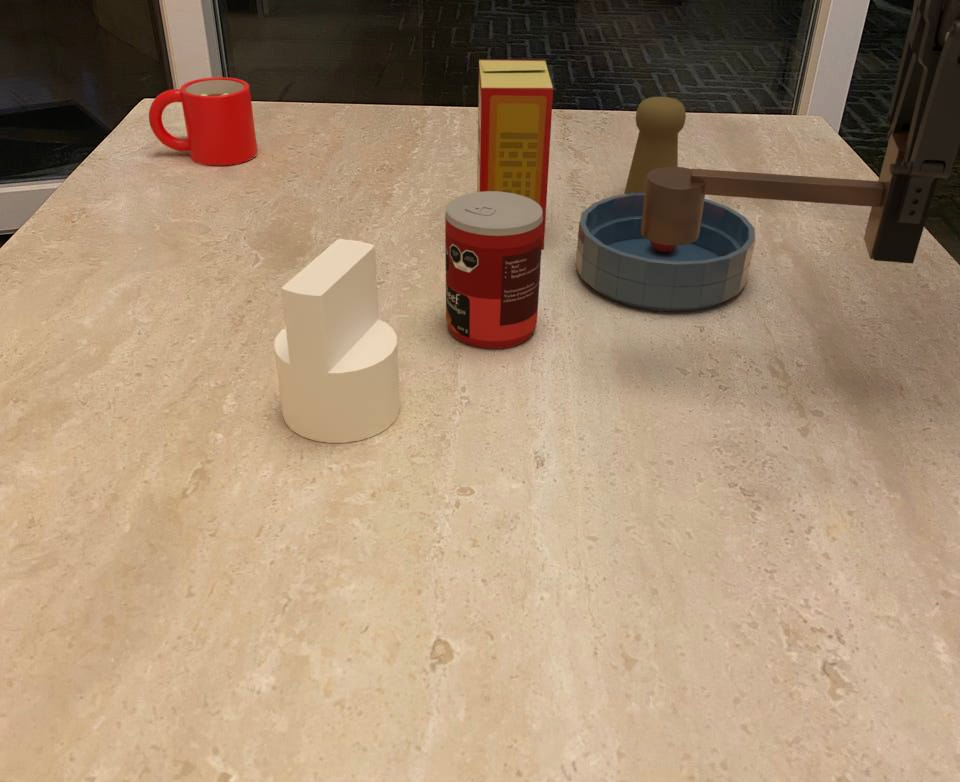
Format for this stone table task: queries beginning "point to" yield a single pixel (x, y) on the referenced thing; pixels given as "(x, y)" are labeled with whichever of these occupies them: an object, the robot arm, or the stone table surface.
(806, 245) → the stone table surface
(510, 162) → the baking soda box
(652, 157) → the cork
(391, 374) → the base with upright slab
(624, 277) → the bowl
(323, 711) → the stone table surface
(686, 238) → the wooden mallet
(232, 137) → the mug
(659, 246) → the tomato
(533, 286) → the canned food
